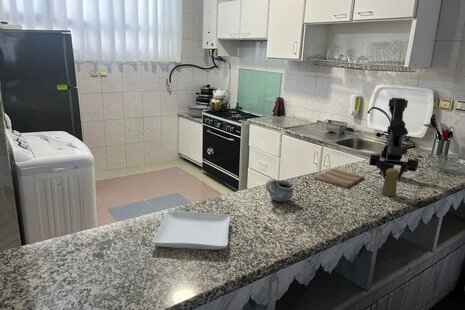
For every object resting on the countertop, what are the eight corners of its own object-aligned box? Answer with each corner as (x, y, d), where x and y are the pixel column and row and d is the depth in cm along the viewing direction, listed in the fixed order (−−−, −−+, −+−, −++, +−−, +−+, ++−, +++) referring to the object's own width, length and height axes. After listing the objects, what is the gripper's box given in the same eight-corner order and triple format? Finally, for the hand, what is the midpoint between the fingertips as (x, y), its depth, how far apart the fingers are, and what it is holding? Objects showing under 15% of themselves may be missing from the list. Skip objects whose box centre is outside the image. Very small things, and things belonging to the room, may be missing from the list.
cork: (393, 191, 149) (397, 167, 146) (398, 196, 144) (402, 171, 141) (379, 190, 150) (383, 166, 147) (383, 195, 144) (387, 170, 141)
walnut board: (333, 170, 177) (333, 168, 177) (364, 178, 167) (364, 176, 167) (314, 179, 163) (314, 176, 162) (346, 188, 152) (347, 185, 152)
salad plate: (167, 219, 115) (167, 209, 114) (230, 222, 115) (230, 213, 114) (150, 252, 95) (150, 241, 94) (227, 257, 94) (228, 246, 94)
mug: (297, 201, 135) (299, 177, 133) (278, 209, 126) (281, 184, 124) (277, 194, 142) (279, 171, 139) (258, 201, 133) (260, 177, 130)
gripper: (373, 136, 147) (369, 167, 140) (422, 141, 141) (420, 174, 134) (371, 149, 156) (366, 179, 150) (416, 155, 150) (414, 187, 143)
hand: (391, 179), depth 144 cm, fingers closed on cork, 5 cm apart
